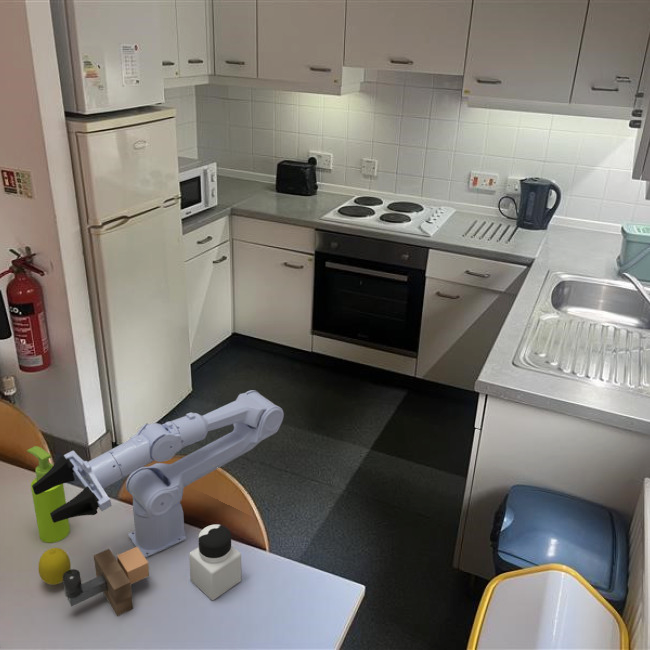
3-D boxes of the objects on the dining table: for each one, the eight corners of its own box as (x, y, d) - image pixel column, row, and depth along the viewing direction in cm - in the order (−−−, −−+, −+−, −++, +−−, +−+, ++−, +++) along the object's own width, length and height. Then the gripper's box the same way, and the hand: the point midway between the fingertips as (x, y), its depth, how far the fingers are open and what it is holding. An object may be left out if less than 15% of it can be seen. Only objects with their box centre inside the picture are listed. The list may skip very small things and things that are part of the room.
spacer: (138, 560, 123) (137, 546, 122) (149, 576, 120) (148, 562, 118) (118, 569, 121) (116, 555, 120) (129, 586, 118) (127, 572, 116)
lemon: (62, 596, 118) (57, 564, 115) (35, 590, 119) (29, 558, 116) (78, 574, 123) (73, 542, 120) (52, 568, 124) (47, 537, 121)
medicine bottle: (242, 581, 124) (241, 533, 119) (212, 601, 119) (211, 553, 114) (218, 561, 128) (217, 514, 123) (189, 580, 123) (187, 532, 118)
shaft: (143, 562, 123) (141, 538, 120) (149, 571, 121) (147, 547, 118) (64, 598, 114) (60, 573, 112) (69, 609, 112) (65, 584, 110)
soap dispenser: (56, 516, 137) (44, 439, 129) (75, 531, 134) (64, 452, 125) (30, 531, 133) (16, 452, 124) (50, 547, 129) (37, 466, 121)
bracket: (112, 574, 124) (109, 548, 121) (133, 608, 117) (130, 582, 114) (96, 581, 122) (93, 555, 119) (117, 616, 115) (114, 589, 112)
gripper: (92, 428, 121) (20, 464, 113) (130, 475, 113) (55, 517, 105) (98, 452, 125) (29, 488, 118) (135, 499, 117) (64, 542, 110)
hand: (42, 504), depth 112 cm, fingers open, 7 cm apart
